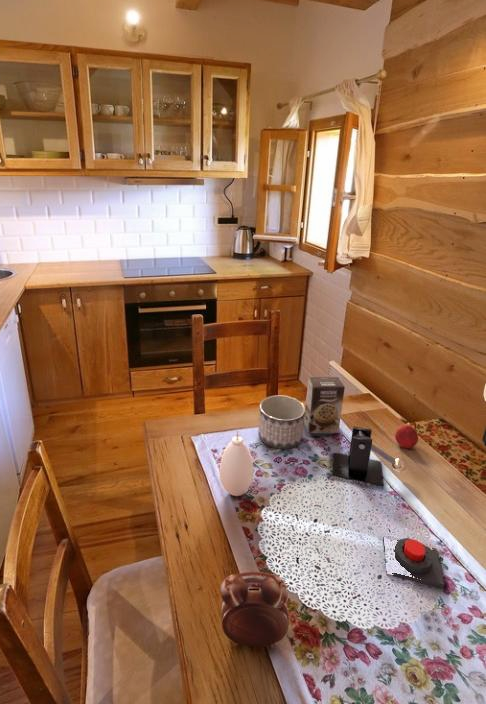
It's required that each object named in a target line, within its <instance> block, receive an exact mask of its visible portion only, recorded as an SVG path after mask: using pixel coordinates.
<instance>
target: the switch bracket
mask: <svg viewBox="0 0 486 704" xmlns="http://www.w3.org/2000/svg"><path fill="white" fill-rule="evenodd" d="M359 431H361V432H362V433H364V434H365V435H367V436H368V437H369V438H364V437H359V436H355V435H356V434H357V433H358V432H359ZM372 432H373V431H372V429H371V428H366V427H360V426H352V432H351V439H350V445H349V452H348V454H344V453H338V452H333V457H332V474H331V476H332V477H336V478H341V479H345V480H350V481H355V482H356V481H357V482H360V483H364V484H370V485H375V486H379V487H384V479H383V470H382V462H381V460H376V459H371V458H370V457H371V452H372V450H371V447H372V444H373V438H372Z"/></svg>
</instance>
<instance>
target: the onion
mask: <svg viewBox="0 0 486 704" xmlns="http://www.w3.org/2000/svg"><path fill="white" fill-rule="evenodd" d="M394 439H395V440H396V443H397V444H398V445H399V446H400V447H401V448H403V449H412V448H414V447H415V446H416V445H417V444H418V442H419V434H418V432H417V430H416V429H415V427H413V426H412V424H411V423H410V422H407V423H406V424H404V425H401V426H399V427H398V428H397V429H396V431H395V432H394Z"/></svg>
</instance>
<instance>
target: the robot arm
mask: <svg viewBox="0 0 486 704" xmlns="http://www.w3.org/2000/svg"><path fill="white" fill-rule="evenodd" d="M483 399H484V401H485V402H486V384H485V385H484V388H483ZM481 441H482V442H483V445H484V446H485V447H486V426H485V427H484V431H483V435H482V438H481Z"/></svg>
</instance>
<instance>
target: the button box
mask: <svg viewBox="0 0 486 704" xmlns="http://www.w3.org/2000/svg"><path fill="white" fill-rule="evenodd" d="M407 540H416V541H418V542H420V541H419V540H417V539H415V538H409V537H405V538H400V539H397V541H398V542H397V544H396V546H395V550H394V552H395V558H396V560H397V561H398V562H399V563H400V565H401V566H402V567H404V568H405V569H406V570H407V571H408V572H410V573H411V574H410V575H412V577H409V576H405V575H401V574H397V573H392V574H394V575H393V576H392V577H394V578H399V579H401V580H406V581H410V582H414V583H417V584H422V585H425V586H430V587H433V588H437V589H442V590H444V588H445V581H444V576H443V573H442V568H441V564H440V559H439V554H438V551H437V550H438V549H437V548H435V547H431V548H432V549H433V550H431V549H430V548H429V547H430V546H426V544H424V543H422V542H420V543H421V544H422V545H423V546H424V548H425V555H424V559H423V560H422V561H421V562H414V561H412V560H410V559H409V558H407V557H406V555H405V554H404V546H405V542H406V541H407ZM382 544H383V545H382V546H383V553H384V552H385V546H384V537H383V539H382ZM413 576H414V577H415V578H413ZM417 578H418V579H417ZM420 579H421V580H420Z"/></svg>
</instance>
